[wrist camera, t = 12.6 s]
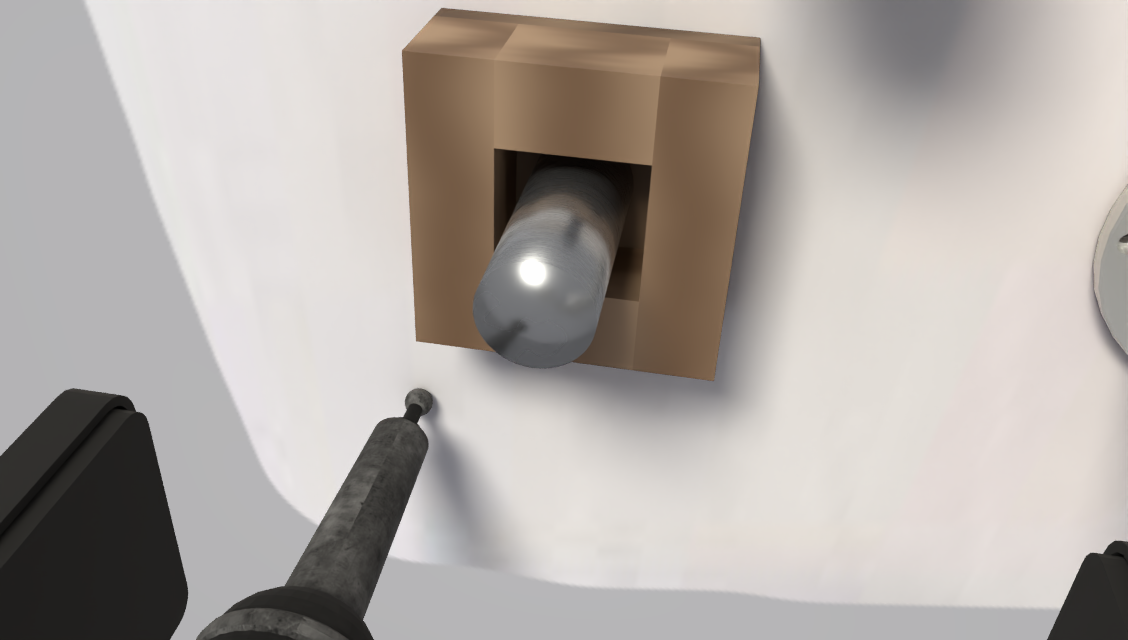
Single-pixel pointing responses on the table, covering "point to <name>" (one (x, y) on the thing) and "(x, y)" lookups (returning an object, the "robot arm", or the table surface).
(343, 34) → the table surface
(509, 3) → the table surface
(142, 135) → the table surface
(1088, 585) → the robot arm
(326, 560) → the microphone
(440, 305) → the socket block
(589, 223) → the pin
